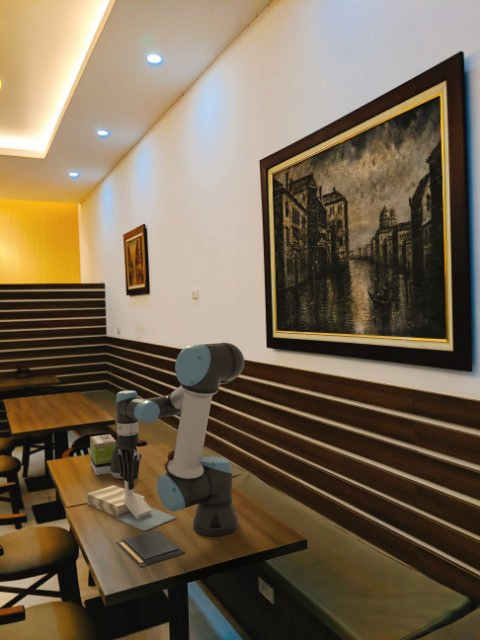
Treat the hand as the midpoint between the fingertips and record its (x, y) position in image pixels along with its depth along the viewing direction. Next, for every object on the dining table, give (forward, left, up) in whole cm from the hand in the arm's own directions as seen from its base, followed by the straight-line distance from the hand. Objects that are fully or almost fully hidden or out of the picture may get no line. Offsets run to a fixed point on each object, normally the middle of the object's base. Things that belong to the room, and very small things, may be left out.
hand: (129, 497), depth 185 cm
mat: (-10, 0, -5) cm, 11 cm away
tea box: (+51, -22, -6) cm, 56 cm away
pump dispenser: (+35, -21, -5) cm, 41 cm away
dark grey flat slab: (-28, +13, -6) cm, 32 cm away
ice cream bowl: (+7, -29, -5) cm, 30 cm away
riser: (+9, 0, -5) cm, 10 cm away
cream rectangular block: (-4, 0, -3) cm, 5 cm away
